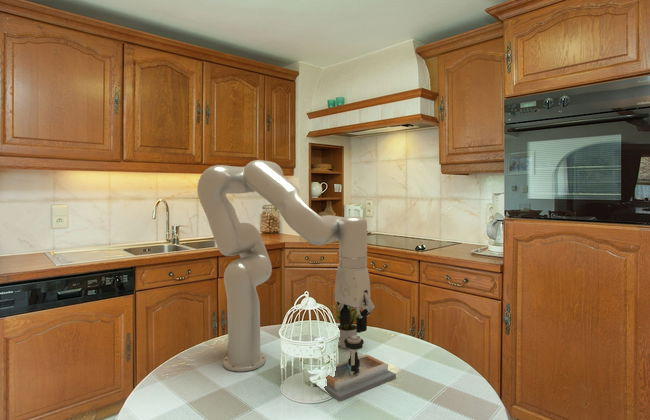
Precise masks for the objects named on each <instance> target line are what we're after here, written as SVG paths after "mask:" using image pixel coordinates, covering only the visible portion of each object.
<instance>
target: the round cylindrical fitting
mask: <svg viewBox="0 0 650 420" xmlns="http://www.w3.org/2000/svg"><path fill="white" fill-rule="evenodd" d="M344 343H345V346H346V348H348V350H349V351H350V354H349V355H350V356H349V358H348V359H347V360H348V364H349V367H348V373H349V376H352V375H354V374H357V372H358V371H359V372H360V361H359V359H358V357H359V355H358V351H360V350H361V349H362V348H363V347H364V346H363V345H364V343H365V342H364V339H363V338H361V336H359V335H358V334H357V335H350V336H348V338H346V339H345V340H344ZM346 348H345V349H346Z"/></svg>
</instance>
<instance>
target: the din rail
mask: <svg viewBox="0 0 650 420" xmlns="http://www.w3.org/2000/svg"><path fill="white" fill-rule="evenodd" d="M358 359H359V361H360V372H359V371H358V372H357V374H354V375H352V376H349V373H348V367H349V364H348V359H347V360H345V361H342V362H339V363H337V365H336V364H335V365H336V371H335V376H334V377H332V376H330V375H328V376H327V377H326V379H327V386H329V387H330V388H332V389H333V390H335V391H337V392H339V391H342V390H344V389H347V388H350V387H352V386H355V385H357V384H360V383H362V382H365V381H367V380H370V379H372V378H375V377H377V376H380V375H382V374H385V373H387V372H388V370H389V364H388V363H386V362H384V361H381V360H380V359H377V358H375V357H374V356H371V355H369V354H367V353H365V354H362V355H360V356H359V355H358Z"/></svg>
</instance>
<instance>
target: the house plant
mask: <svg viewBox="0 0 650 420" xmlns="http://www.w3.org/2000/svg"><path fill="white" fill-rule="evenodd" d="M334 301H335V303H336V305H337V307H336V306H334V305H333V304H331V306H332V308H333V309H334V310H335V311H336V312H337V314H335V316H334V315H332V316H333V318H332V319H334V320H335V319H336V320H338V321H339V322H340V311H339V309H338V307H339V306H338V304H337V301H336V299H335V298H334ZM348 309H349V310H350V324H347V325H343V326H341V325H340V324H338V325H337V326H338V328H339V330H340V337H339V338H338V344H339V347H340V348H342V349H348V348H346V346H345V343H344V340H345V339H346V338H348V336H350V335H357V336H358V333H357V331H356V322H355V321H356V318H358V314H357V310H356V308H353V307H350V306H349V308H348ZM348 350H349V349H348Z"/></svg>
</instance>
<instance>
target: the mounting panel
mask: <svg viewBox="0 0 650 420" xmlns="http://www.w3.org/2000/svg"><path fill="white" fill-rule="evenodd" d="M395 379H397V373H395V372H394V371H391V370H389V369H388V372H387V373H385V374H382V375H380V376H377V377H375V378H372V379H370V380H367V381H365V382H362V383H360V384H357V385H355V386H352V387H350V388H347V389H344V390H342V391H339V392H337V391H335V390H333V389H332V388H330V387H329V386H325V387H324V388H325V390H326V391H327V392H328V393H329V394H330V395H329V394H328V393H327V394H328V395H329V396H331V397H333V398H334V399H335V400H337V401H338V402H342V401H346V400H348V399H349V398H352V397H354V396H357V395H359V394H361V393H363V392H366V391H369V390H372V389H374V388H376V387H378V386H381V385H383V384H385V383H388V382H390V381H393V380H395Z"/></svg>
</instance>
